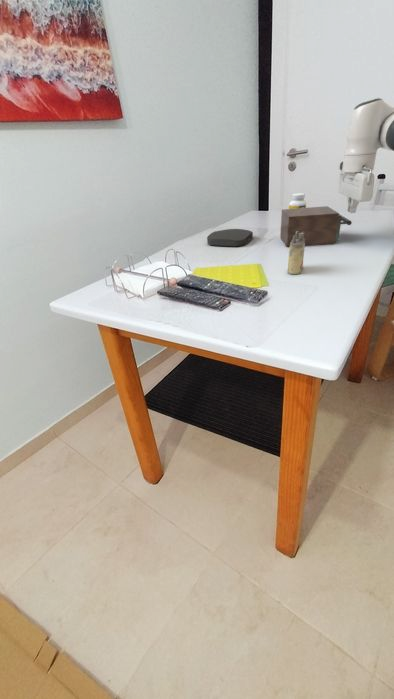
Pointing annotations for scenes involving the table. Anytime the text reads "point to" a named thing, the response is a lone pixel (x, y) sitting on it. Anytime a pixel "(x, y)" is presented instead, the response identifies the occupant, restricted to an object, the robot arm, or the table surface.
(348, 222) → the drawer
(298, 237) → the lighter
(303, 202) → the pill bottle
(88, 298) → the table surface
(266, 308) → the table surface
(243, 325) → the table surface
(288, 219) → the cabinet
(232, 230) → the media streaming box
